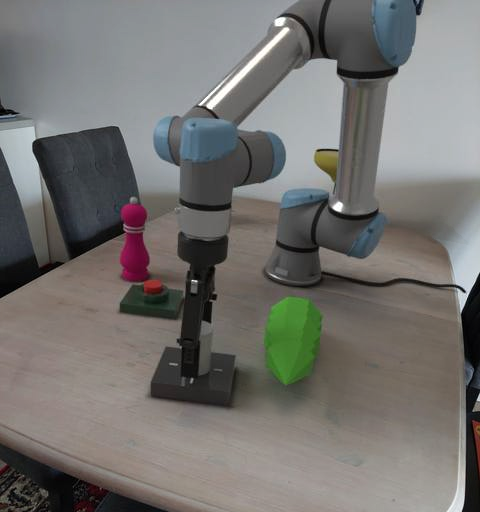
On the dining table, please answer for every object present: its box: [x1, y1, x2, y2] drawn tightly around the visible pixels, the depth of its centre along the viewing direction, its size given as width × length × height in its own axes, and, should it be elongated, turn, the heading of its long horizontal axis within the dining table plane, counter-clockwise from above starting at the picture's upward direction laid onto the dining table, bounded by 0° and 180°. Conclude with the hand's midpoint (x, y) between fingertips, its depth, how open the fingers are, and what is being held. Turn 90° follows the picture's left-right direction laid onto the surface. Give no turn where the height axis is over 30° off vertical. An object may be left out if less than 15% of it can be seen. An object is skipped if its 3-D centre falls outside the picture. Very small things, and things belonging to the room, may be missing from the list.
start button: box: [143, 279, 163, 294], centre depth 103 cm, size 4×4×2 cm
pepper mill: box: [119, 196, 151, 282], centre depth 113 cm, size 7×7×20 cm
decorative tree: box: [262, 295, 323, 386], centre depth 87 cm, size 11×12×30 cm
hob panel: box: [150, 346, 237, 407], centre depth 82 cm, size 13×11×3 cm
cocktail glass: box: [313, 148, 339, 195], centre depth 168 cm, size 18×18×25 cm
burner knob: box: [198, 321, 214, 376], centre depth 79 cm, size 5×5×8 cm
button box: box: [119, 283, 185, 320], centre depth 104 cm, size 12×10×4 cm
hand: (196, 353), depth 79 cm, fingers open, 13 cm apart
